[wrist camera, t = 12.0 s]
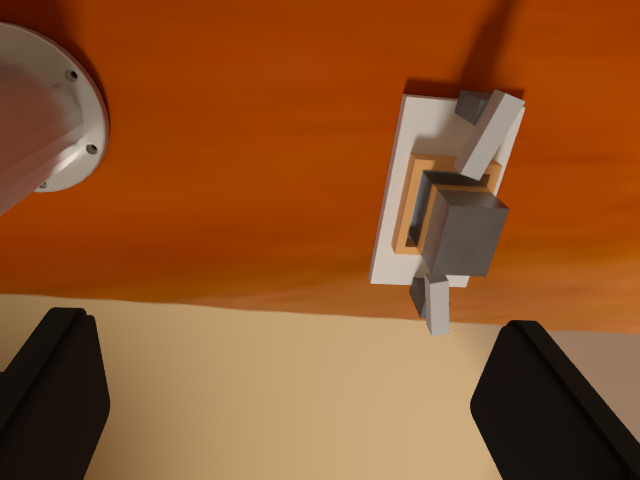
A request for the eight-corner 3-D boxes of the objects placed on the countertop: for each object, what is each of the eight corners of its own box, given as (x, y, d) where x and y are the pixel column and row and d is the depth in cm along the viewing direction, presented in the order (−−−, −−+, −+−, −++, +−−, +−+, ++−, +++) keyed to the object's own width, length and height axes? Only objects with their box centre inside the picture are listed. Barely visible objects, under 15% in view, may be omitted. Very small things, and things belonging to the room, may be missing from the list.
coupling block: (408, 232, 39) (430, 275, 33) (422, 170, 36) (449, 204, 30) (455, 235, 40) (486, 277, 33) (472, 174, 37) (510, 208, 31)
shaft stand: (457, 293, 45) (483, 337, 39) (365, 290, 43) (378, 335, 38) (525, 83, 34) (574, 99, 28) (407, 71, 33) (433, 86, 27)
